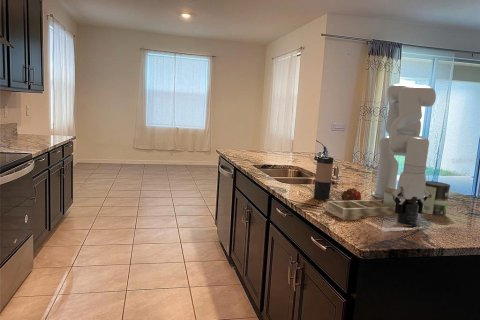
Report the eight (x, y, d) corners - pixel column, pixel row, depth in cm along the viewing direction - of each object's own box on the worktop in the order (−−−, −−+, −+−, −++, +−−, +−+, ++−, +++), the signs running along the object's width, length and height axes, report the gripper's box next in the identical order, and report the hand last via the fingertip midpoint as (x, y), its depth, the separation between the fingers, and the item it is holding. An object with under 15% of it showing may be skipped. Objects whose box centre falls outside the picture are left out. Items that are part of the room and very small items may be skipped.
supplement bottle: (393, 222, 144) (397, 192, 142) (410, 222, 145) (414, 193, 143) (402, 227, 137) (407, 197, 135) (419, 228, 138) (424, 197, 136)
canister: (390, 207, 162) (392, 188, 160) (401, 211, 156) (403, 191, 154) (378, 208, 159) (381, 188, 158) (389, 212, 154) (391, 191, 152)
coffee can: (446, 214, 161) (450, 183, 159) (444, 219, 153) (449, 187, 151) (420, 209, 167) (424, 179, 165) (417, 214, 158) (422, 183, 156)
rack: (389, 208, 166) (390, 199, 165) (411, 216, 154) (413, 207, 153) (325, 210, 154) (326, 200, 154) (344, 220, 142) (345, 209, 142)
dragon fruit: (348, 211, 161) (347, 208, 173) (366, 202, 159) (363, 200, 171) (338, 194, 162) (338, 193, 174) (356, 185, 161) (354, 184, 172)
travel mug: (329, 201, 171) (334, 159, 169) (313, 199, 173) (317, 157, 170) (329, 197, 179) (333, 157, 176) (313, 195, 180) (317, 155, 177)
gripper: (423, 168, 144) (417, 209, 147) (388, 167, 138) (383, 211, 141) (439, 171, 137) (433, 215, 140) (403, 171, 131) (397, 217, 134)
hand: (408, 213), depth 140 cm, fingers open, 9 cm apart
